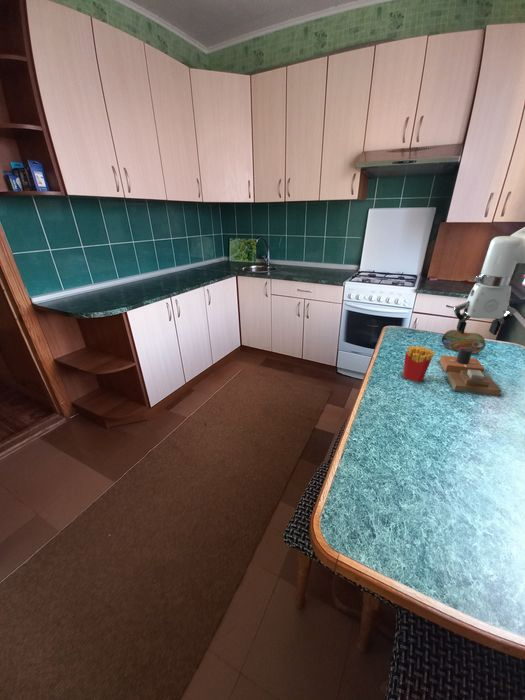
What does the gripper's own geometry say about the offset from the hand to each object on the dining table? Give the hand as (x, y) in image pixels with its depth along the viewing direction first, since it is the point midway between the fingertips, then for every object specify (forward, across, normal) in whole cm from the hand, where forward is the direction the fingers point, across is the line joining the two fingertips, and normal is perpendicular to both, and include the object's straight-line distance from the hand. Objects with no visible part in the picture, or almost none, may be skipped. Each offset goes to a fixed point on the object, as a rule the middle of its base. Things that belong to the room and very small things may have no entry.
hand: (476, 332), depth 95 cm
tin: (+18, +10, +24) cm, 32 cm away
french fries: (+18, -16, -1) cm, 24 cm away
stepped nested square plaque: (+18, +2, -4) cm, 19 cm away
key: (+14, +2, -4) cm, 15 cm away
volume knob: (+15, +3, +8) cm, 17 cm away
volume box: (+18, +3, +8) cm, 20 cm away
